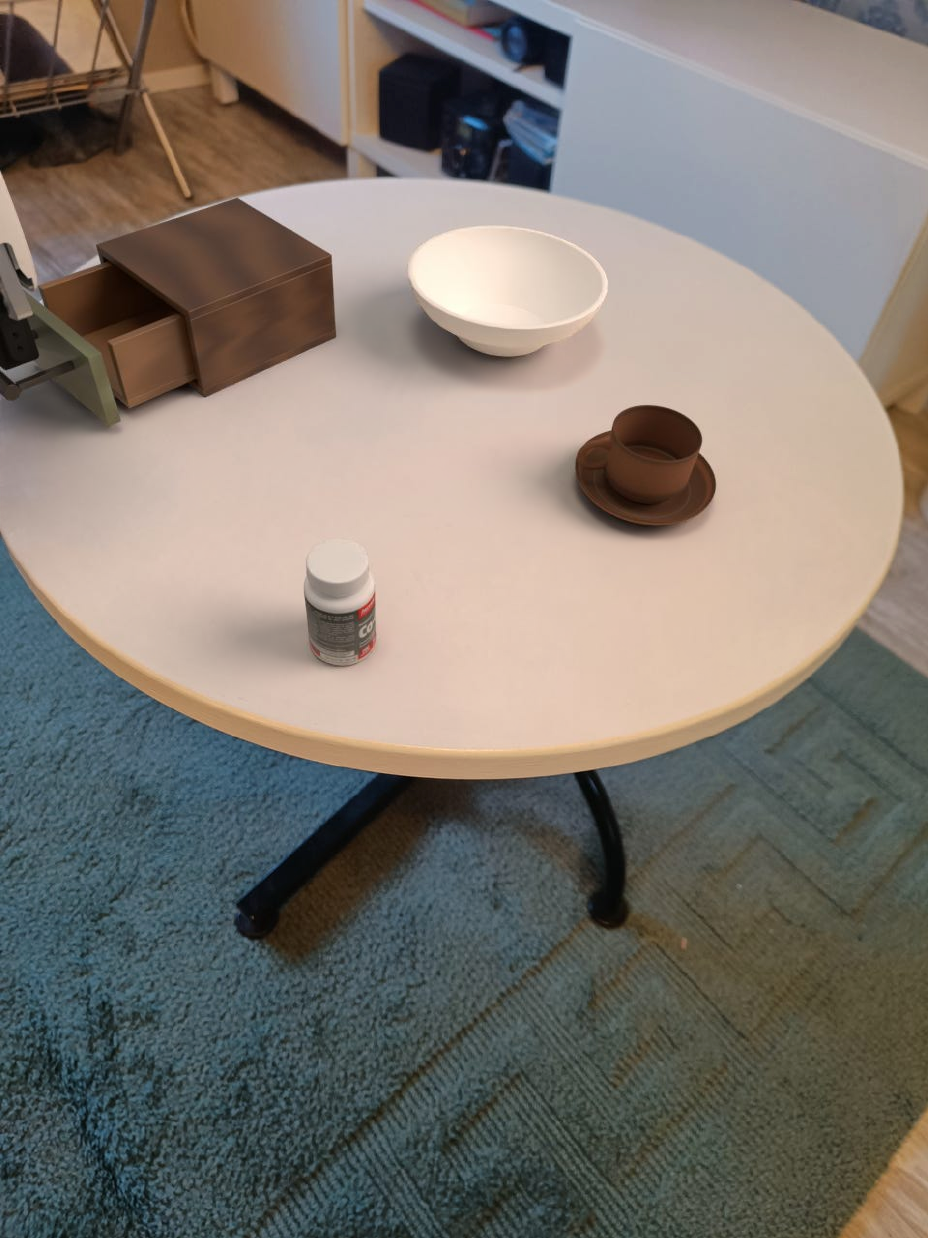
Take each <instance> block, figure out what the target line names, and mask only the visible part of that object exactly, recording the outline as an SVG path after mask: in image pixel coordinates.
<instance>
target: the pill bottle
mask: <svg viewBox="0 0 928 1238" xmlns="http://www.w3.org/2000/svg"><path fill="white" fill-rule="evenodd" d="M305 567H306V568H305V569H306V571H305V572H306V575H305V578H304V581H303V597H304V605H305V613H306V622H307V632H308V640H309V644H310V645H309V646H310V648H311V650H312V653H313V654H314V655H315V656H316V657H317V658H318V659H319V660H321V661H323V662H324V663H328V664H331V665H333V666H344V667H345V666H346V667H347V666H352V665H355V664H358V663H360V662H362V661H363V660H365V659H366V658H367V657H369V655H370V654H371V653H372V652H373V650H374V648H375V645H376V641H377V615H376V614H377V613H376V612H377V611H376V606H377V604H376V582H375V578H374V576H373V574H372V572H371V571H370V564H369V556H368V553H367V552H366V550H365V549H364V548H363V547H362V545H360V544H358V543H357V542H355V541H352V540H350V539H345V538H330V539H326V540H323V541H321V542H319V543H317V544H316V545H313V547H312V548H311V549H310V550H309V552H308V553H307V555H306V559H305Z"/></svg>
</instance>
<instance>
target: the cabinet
mask: <svg viewBox="0 0 928 1238" xmlns="http://www.w3.org/2000/svg"><path fill="white" fill-rule="evenodd" d="M95 247H96V251H97V255H98V258H99V262H100V264H102V263H104V262H107V261H110V262H111V263H113V264H114V265H116V266H117V267H118V268H120V269H121V270H122V271H124V272H125V273H127V274H128V275H129V276H131V277H132V278H133V279H135V280H136V281H138V282H139V283H140V284H142V285H143V286H144V287H146V288H147V289H148V290H150V291H151V292H153V293H154V294H155V295H157V296H158V297H159V298H161V299H162V300H164V301H165V302H166V303H168V304H169V305H170V306H172V307H173V308H175V309H176V310H177V311H179V312H180V313H181V314H183V315H184V316H186V317H185V319H186V324H187V329H188V334H189V339H190V344H191V350H192V355H193V360H194V365H195V370H196V375H197V379H194V380H192V381H190V382H188V383H186V384H187V385H189V386H190V387H191V388H193V389H194V391H196V392H197V393H199V394H200V395H201V396H203V397H204V398H206V397H208V396H211V395H213V394H215V393H217V392H219V391H222V390H224V389H226V388H228V387H230V386H232V385H234V384H236V383H239V382H241V381H243V380H245V379H248V378H251V377H252V376H254V375H256V374H258V373H261V372H263V371H265V370H267V369H269V368H271V367H274V366H276V365H278V364H280V363H282V362H284V361H287V360H289V359H290V358H294V357H296V356H298V355H300V354H301V353H305V352H306V351H308V350H311V349H313V348H315V347H317V346H319V345H321V344H324V343H325V342H329V341H330V340H333V339H335V338H336V337H337V329H336V311H335V293H334V273H333V255H332V254H331V253H330V252H328V251H326V250H325V249H323V248H321V247H320V246H318V245H317V244H315V243H313V242H311V241H310V240H308V239H307V238H305V237H303V236H301V235H300V234H298V233H296V232H295V231H293V230H292V229H290V228H288V227H286V226H285V225H283V224H282V223H280V222H278V221H277V220H275V219H273V218H272V217H270V216H268V215H267V214H266V213H263V212H262V211H260V210H259V209H257V208H255V207H254V206H252V205H250V204H248V203H247V202H245V201H244V200H242V199H241V198H239V197H235V198H232V199H228V200H226V201H222V202H220V203H217V204H213V205H211V206H208V207H205V208H202V209H199V210H196V211H193V212H190V213H187V214H184V215H180V216H178V217H175V218H172V219H170V220H165V221H163V222H160V223H157V224H154V225H151V226H148V227H144V228H141V229H138V230H136V231H133V232H129V233H127V234H123V235H121V236H118V237H114V238H112V239H108V240H105V241H103V242H99V243H96V244H95Z"/></svg>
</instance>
